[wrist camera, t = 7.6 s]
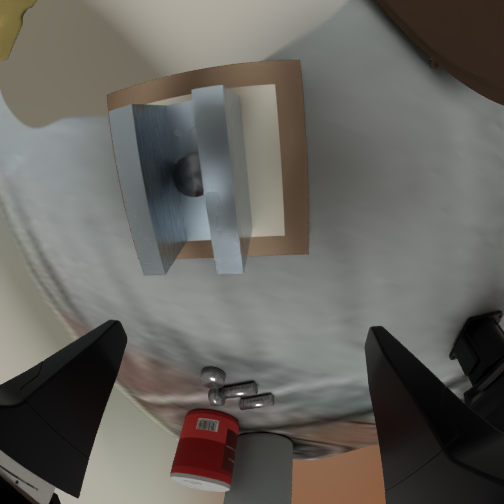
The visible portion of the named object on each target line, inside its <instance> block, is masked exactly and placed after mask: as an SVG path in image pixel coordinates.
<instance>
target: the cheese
mask: <svg viewBox="0 0 504 504" xmlns="http://www.w3.org/2000/svg"><path fill="white" fill-rule="evenodd" d="M36 1H37V0H0V61H3V60H7V59H8V57H9V54H10V52H11V50H12V47H13V45H14V43H15V40H16V38H17V36H18V34H19V31H20V29H21V26H22V23H23V21H22V18H23V15H24V13H25V12H26V10H27V9H28V8H31V7H33V5H34V4H35V2H36Z"/></svg>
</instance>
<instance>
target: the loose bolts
mask: <svg viewBox="0 0 504 504" xmlns="http://www.w3.org/2000/svg"><path fill="white" fill-rule="evenodd" d="M224 380H225V373H224V372H223V371H222V370H220V369H218V368H215V367H206V368H204V369H203V370H202V374H201V377H200V382H201V384H202V385H204V386H205V387H208V388H211V389H210V390H209V393H208V398H209V401H210V403H211V404H212V405H213V406H219V405H224V404H225V400H226V399H228V398H235V397H242V396H249V395H255V394H257V393H258V388H257V385H256V383H248V384H243V385H237V386H230V387H224V388H222V387H223V385H224ZM272 405H274V397H273V395H272V394H270V395H265V396H259V397H253V398H246V399H240V400H239V407H240V409H241V410H246V409H253V408H260V407H266V406H272Z"/></svg>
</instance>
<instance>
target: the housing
mask: <svg viewBox="0 0 504 504" xmlns="http://www.w3.org/2000/svg"><path fill="white" fill-rule="evenodd" d="M191 91H192V100H191V101H186V102H181V103H176V104H171V105H148V104H130V105H127V106H124V107H120V108H117V109H114V110H111V111H109V118H110V126H111V133H112V140H113V147H114V153H115V159H116V164H117V170H118V175H119V180H120V185H121V190H122V194H123V199H124V203H125V208H126V212H127V216H128V220H129V224H130V228H131V232H132V236H133V239H134V243H135V247H136V250H137V254H138V257H139V261H140V264H141V267H142V270H143V274H144V275H166V273H167V272H168V270H169V269H170V267H171V265H172V264H173V262H174V261H175V259H176V258H177V256H178V255H179V253H180V252H181V250H182V249H183V247H184V246H185V244H186V243H187V241H199V240H211V241H212V247H213V253H214V259H215V265H216V271H217V274H243V273H244V268H245V263H246V259H247V254H248V249H249V245H250V240H251V235H252V231H253V228H252V217H251V206H250V196H249V185H248V175H247V164H246V153H245V143H244V133H243V122H242V112H241V101H240V96H239V95H238V94H236V93H235V92H233V91H232V90H230V89H229V88H227V87H225V86H224V85H217V86H210V87H204V88H198V89H193V90H191Z"/></svg>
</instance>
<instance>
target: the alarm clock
mask: <svg viewBox="0 0 504 504" xmlns="http://www.w3.org/2000/svg"><path fill="white" fill-rule="evenodd" d="M376 1H377V2H378V4H379V5H380V6H381V7H382V8H383V10H384V11H385V12H386V13H387V14H388V15H389V16H390V18H391V19H392V20H393V21H394V22H395V23H396V24H397V25H398V26H399V27H400V28H401V29H402V30H403V31H404V33H405V34H406V35H407V36H408V37H409V38H410V39H411V40H412V41H413V42H414V43H415V44H417V45H418V46H419V47H420V48H421V49H422V50H423V51H424V52H425V53H426V54H427V55H428V56H429V57H431V58H432V60H430V61H429V65H430V66H431V67H433V68H436V67H437V64H439V65H440V66H441V67H442V68H443V69H445V70H446V71H447V72H449V73H450V74H451V75H452V76H454V77H455V78H456V79H458V80H459V81H460V82H462V83H463V84H465V85H466V86H468V87H469V88H471V89H472V90H474V91H476V92H477V93H479V94H481V95H482V96H484V97H486V98H488V99H490V100H492V101H494V102H496V103H499V104H501V105H504V0H376Z"/></svg>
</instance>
